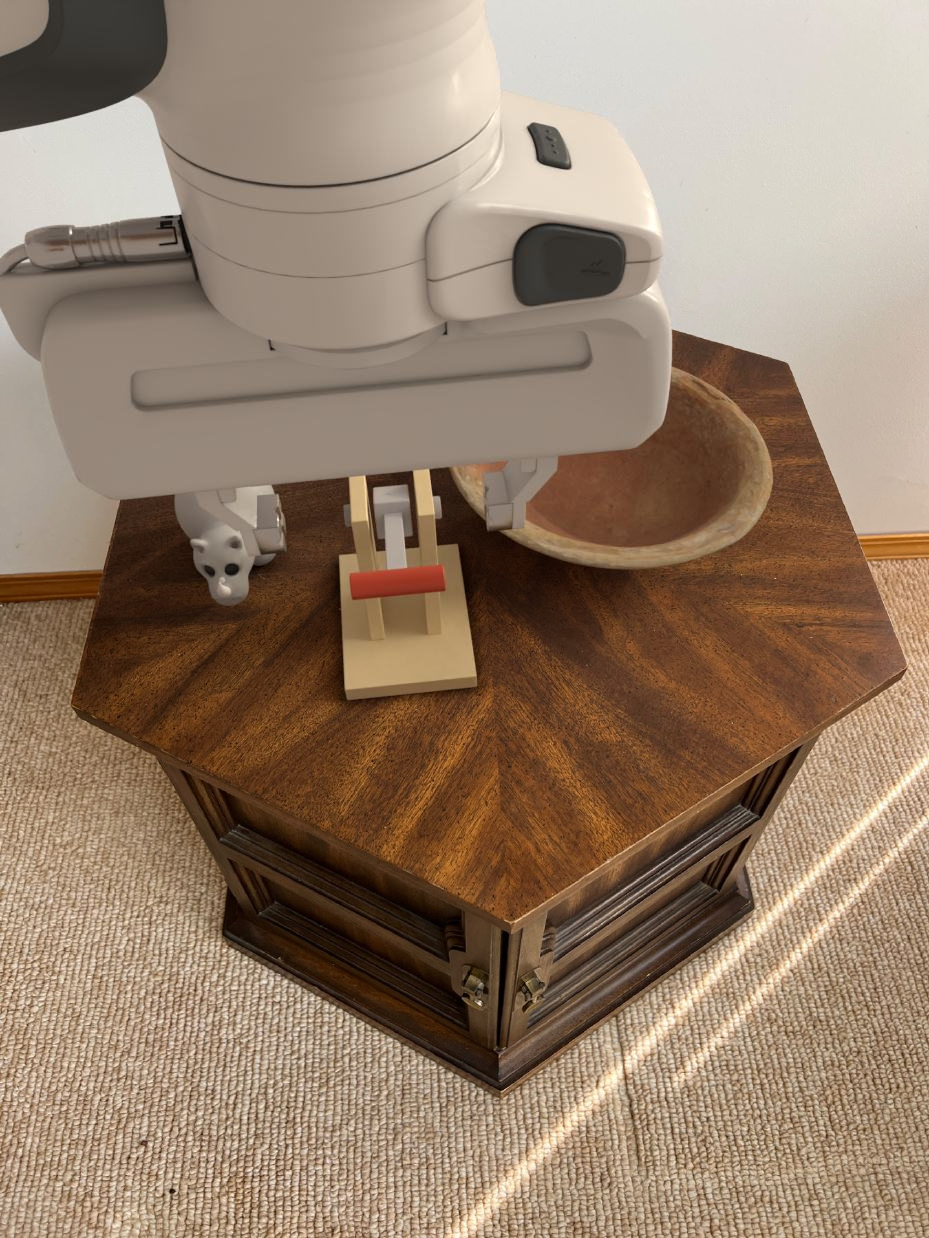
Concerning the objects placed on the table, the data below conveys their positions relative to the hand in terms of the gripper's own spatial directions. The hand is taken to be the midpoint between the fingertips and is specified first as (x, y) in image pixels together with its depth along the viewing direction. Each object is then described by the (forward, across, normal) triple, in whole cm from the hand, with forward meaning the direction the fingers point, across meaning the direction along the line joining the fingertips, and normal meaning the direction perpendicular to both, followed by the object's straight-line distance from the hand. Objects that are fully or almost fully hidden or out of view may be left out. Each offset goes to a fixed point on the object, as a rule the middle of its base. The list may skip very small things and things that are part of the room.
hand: (386, 530), depth 38 cm
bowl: (+28, +16, +24) cm, 40 cm away
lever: (+14, 0, +10) cm, 18 cm away
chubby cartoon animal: (+27, -12, +22) cm, 37 cm away
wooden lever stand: (+27, 0, +15) cm, 31 cm away
